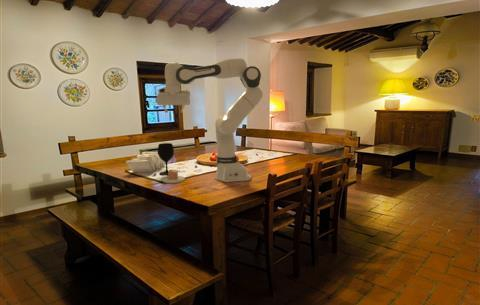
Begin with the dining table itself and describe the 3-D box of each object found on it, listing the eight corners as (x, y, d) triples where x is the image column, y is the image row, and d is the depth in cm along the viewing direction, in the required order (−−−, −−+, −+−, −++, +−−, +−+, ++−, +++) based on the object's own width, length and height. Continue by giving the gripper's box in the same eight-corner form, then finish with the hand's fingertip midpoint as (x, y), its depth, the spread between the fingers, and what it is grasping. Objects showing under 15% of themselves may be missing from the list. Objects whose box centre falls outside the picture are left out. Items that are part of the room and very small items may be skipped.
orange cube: (178, 177, 194) (177, 169, 193) (176, 179, 189) (176, 171, 189) (170, 177, 194) (169, 169, 193) (168, 179, 189) (168, 171, 188)
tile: (186, 176, 199) (186, 175, 199) (182, 182, 185) (182, 181, 185) (164, 177, 199) (164, 175, 198) (159, 183, 185) (159, 181, 185)
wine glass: (159, 176, 201) (157, 145, 198) (158, 172, 211) (157, 143, 207) (175, 174, 204) (174, 145, 200) (174, 171, 214) (173, 142, 210)
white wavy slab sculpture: (146, 175, 204) (144, 159, 202) (123, 174, 208) (122, 158, 206) (169, 163, 237) (169, 150, 235) (150, 162, 241) (149, 149, 239)
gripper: (190, 89, 193) (191, 112, 196) (157, 89, 192) (158, 112, 195) (189, 89, 187) (190, 112, 190) (155, 89, 186) (156, 112, 189)
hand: (174, 112), depth 192 cm, fingers open, 8 cm apart
